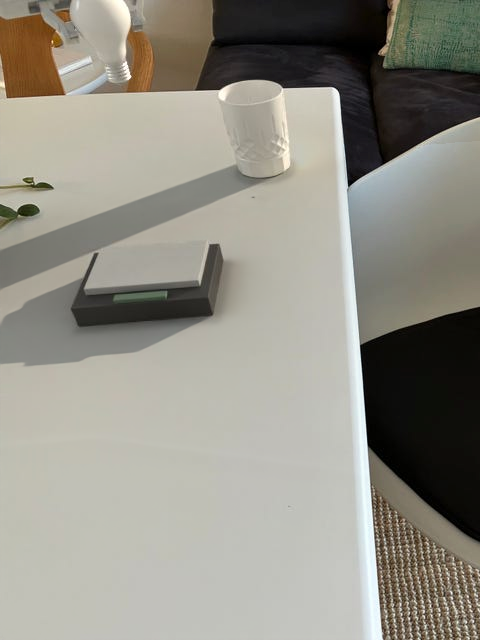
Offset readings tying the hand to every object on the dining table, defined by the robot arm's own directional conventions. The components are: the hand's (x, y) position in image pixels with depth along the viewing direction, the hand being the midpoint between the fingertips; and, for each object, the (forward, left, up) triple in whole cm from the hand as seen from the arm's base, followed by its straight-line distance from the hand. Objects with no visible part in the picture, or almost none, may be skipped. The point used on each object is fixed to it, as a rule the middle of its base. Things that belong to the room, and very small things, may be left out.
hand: (107, 35), depth 90 cm
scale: (+6, -28, -17) cm, 33 cm away
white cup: (+15, -1, -17) cm, 23 cm away
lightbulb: (0, +1, -6) cm, 6 cm away
